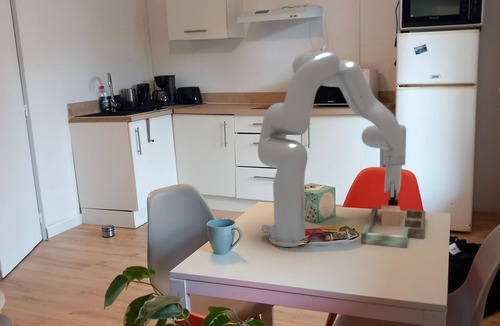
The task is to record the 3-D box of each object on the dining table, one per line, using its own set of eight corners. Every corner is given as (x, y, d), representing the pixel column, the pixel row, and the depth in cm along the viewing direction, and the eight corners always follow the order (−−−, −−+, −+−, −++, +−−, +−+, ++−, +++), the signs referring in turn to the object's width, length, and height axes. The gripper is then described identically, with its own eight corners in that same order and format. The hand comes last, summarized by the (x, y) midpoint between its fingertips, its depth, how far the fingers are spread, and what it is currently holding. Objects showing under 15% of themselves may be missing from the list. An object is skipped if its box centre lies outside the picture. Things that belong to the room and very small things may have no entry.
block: (381, 225, 163) (381, 211, 162) (381, 219, 170) (381, 205, 169) (400, 226, 161) (400, 211, 160) (399, 220, 168) (399, 206, 167)
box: (361, 243, 147) (361, 233, 146) (373, 214, 174) (373, 206, 174) (422, 249, 141) (423, 239, 140) (425, 218, 168) (425, 210, 167)
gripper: (385, 155, 179) (384, 204, 183) (380, 163, 165) (379, 215, 169) (406, 156, 176) (405, 205, 180) (404, 164, 163) (402, 217, 166)
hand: (392, 210), depth 174 cm, fingers closed
